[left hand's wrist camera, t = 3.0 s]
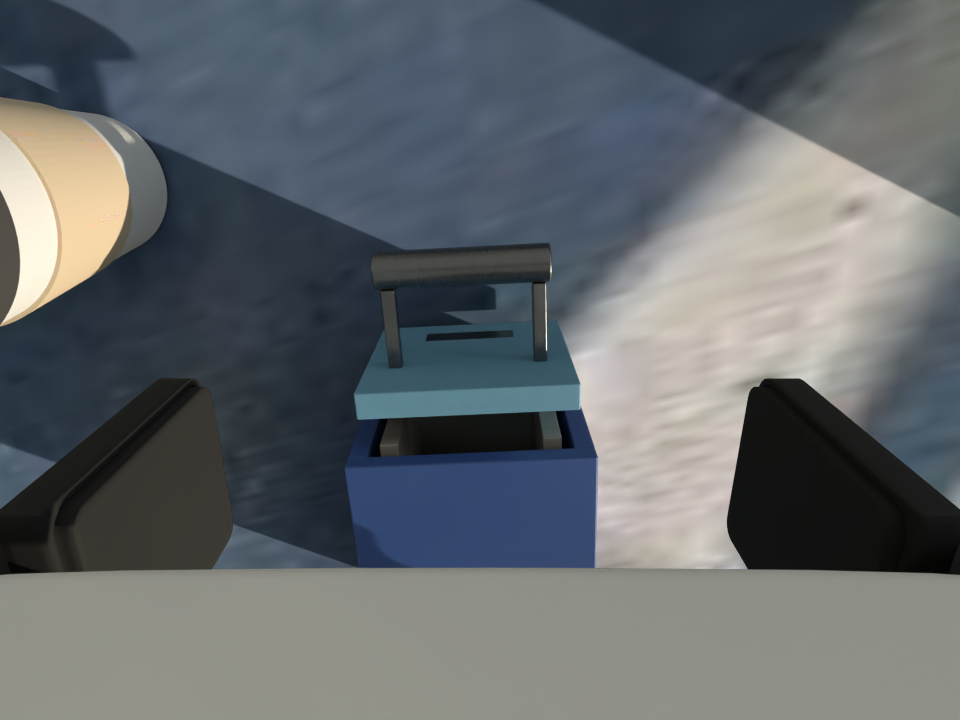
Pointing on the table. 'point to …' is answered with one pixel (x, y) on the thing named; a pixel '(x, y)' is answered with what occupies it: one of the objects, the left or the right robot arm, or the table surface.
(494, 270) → the drawer
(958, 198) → the table surface
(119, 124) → the coffee cup
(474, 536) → the blue storage bin
